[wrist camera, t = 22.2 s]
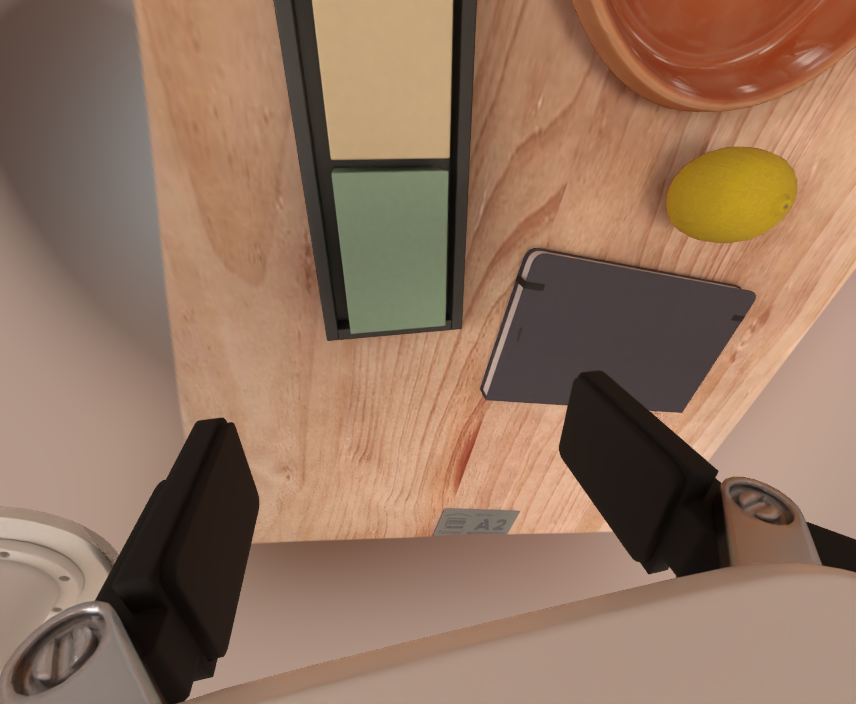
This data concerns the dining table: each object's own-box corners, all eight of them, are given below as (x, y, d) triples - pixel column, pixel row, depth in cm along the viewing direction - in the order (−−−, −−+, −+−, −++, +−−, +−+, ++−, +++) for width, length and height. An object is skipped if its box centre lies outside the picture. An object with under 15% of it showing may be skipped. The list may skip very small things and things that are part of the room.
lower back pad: (350, 309, 26) (350, 334, 23) (333, 167, 22) (331, 173, 19) (433, 302, 27) (445, 326, 24) (433, 165, 23) (448, 170, 20)
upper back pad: (333, 156, 22) (330, 160, 18) (307, -64, 17) (298, -114, 14) (434, 155, 23) (450, 158, 19) (435, -54, 18) (455, -98, 15)
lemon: (668, 134, 25) (788, 133, 18) (727, 159, 27) (856, 167, 20) (626, 217, 28) (719, 244, 21) (682, 236, 29) (785, 266, 22)
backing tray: (328, 328, 27) (327, 341, 26) (261, -107, 17) (252, -135, 15) (455, 318, 29) (462, 329, 27) (469, -88, 18) (482, -111, 16)
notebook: (479, 389, 33) (670, 403, 38) (485, 400, 32) (682, 413, 37) (527, 245, 27) (743, 286, 33) (536, 251, 26) (760, 293, 31)
